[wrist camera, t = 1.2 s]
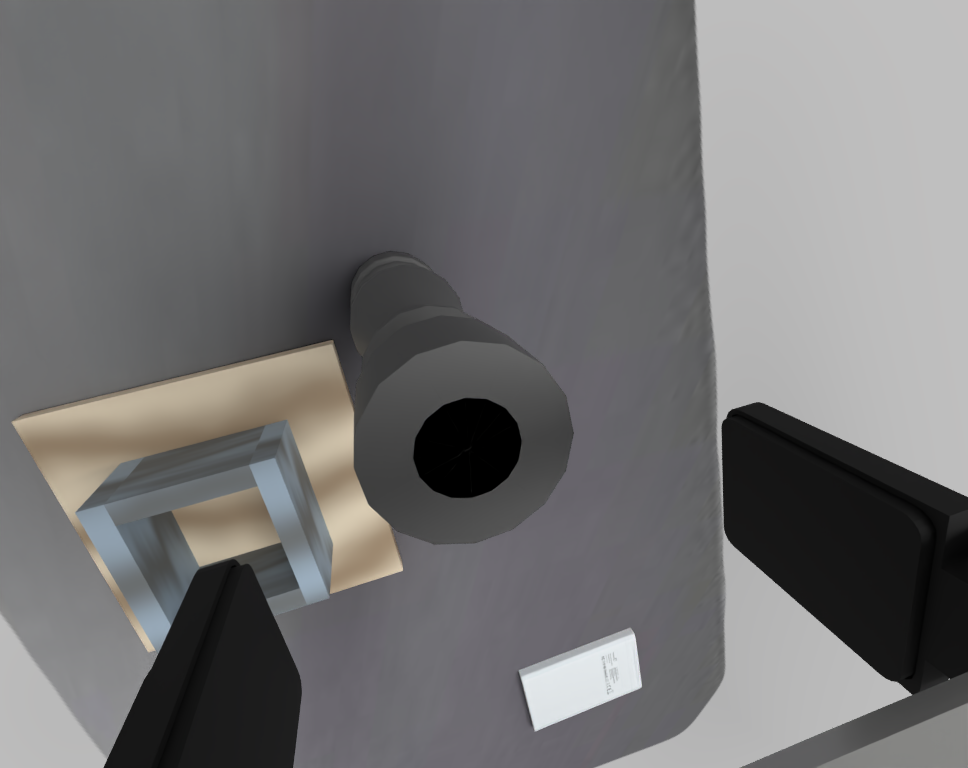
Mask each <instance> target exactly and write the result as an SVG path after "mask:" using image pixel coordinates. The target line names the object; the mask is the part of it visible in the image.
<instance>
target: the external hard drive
mask: <svg viewBox="0 0 968 768" xmlns="http://www.w3.org/2000/svg"><path fill="white" fill-rule="evenodd" d="M519 675H520V679H521V682H522V686H523V690H524V694H525V698H526V702H527V706H528V710H529V714H530V718H531V722H532V725H533V728H534V731H537V730H540V729H542V728H544V727H547V726H549V725H552V724H554V723H557V722H559V721H562V720H564V719H566V718H569V717H571V716H574V715H576V714H579V713H581V712H583V711H586V710H588V709H591V708H593V707H596V706H598V705H600V704H603V703H605V702H608V701H610V700H613V699H615V698H617V697H620V696H622V695H625V694H627V693H629V692H632V691H635V690H637V689H639V688H641V687H642V683H641V676H640V669H639V661H638V653H637V645H636V638H635V634H634V632H633V631H632V629H631V628H628V629H625V630H623V631H620V632H617V633H615V634H612V635H610V636H607V637H604V638H602V639H599V640H596V641H594V642H591V643H589V644H586V645H583V646H581V647H578V648H576V649H573V650H570V651H568V652H565V653H563V654H560V655H557V656H555V657H552V658H549V659H547V660H544V661H542V662H539V663H536V664H534V665H531V666H529V667H526V668H524V669H521V670H519Z"/></svg>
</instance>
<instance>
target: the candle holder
mask: <svg viewBox="0 0 968 768" xmlns="http://www.w3.org/2000/svg"><path fill="white" fill-rule="evenodd" d="M350 309H351V319H350V332H351V335H352V338H353V340H354V343H355V346H356V349H357V351H358V352H359V354H360V355H361V356H362V357H363V358H362V371H361V375H360V377H359V379H358V381H357V383H356V394H355V408H354V470H355V473H356V475H357V478H358V480H359V483H360V485H361V488H362V490H363V493H364V495H365V498H366V500H367V503H368V505H369V506H370V507H371V508H372V509H373V510H375V511H376V512H377V513H378V514H379V515H380V516H381V517H382V518H383V519H384V520H385V521H387V522H388V523H389V524H390V525H391V526H392V527H393V528H394V529H395V530H396V531H398V532H400V533H403V534H406V535H409V536H412V537H415V538H418V539H420V540H423V541H426V542H429V543H432V544H471V543H477V542H480V541H483V540H486V539H488V538H491V537H494V536H496V535H499V534H502V533H504V532H507V531H510V530H512V529H514V528H515V527H517V526H518V525H519V524H520V523H522V522H523V521H524V520H525V519H527V518H528V517H529V516H530V515H532V514H533V513H534V512H535V511H537V510H538V509H539V508H540V507H542V506H543V505H544V504H545V503H546V501H547V500H548V498H549V496H550V495H551V493H552V492H553V490H554V489H555V487H556V485H557V484H558V482H559V481H560V479H561V478H562V476H563V474H564V473H565V471H566V468H567V463H568V458H569V453H570V448H571V444H572V439H573V434H574V432H573V427H572V422H571V417H570V412H569V407H568V402H567V397H566V395H565V394H564V392H563V391H562V390H561V388H560V387H559V385H558V384H557V383H556V381H555V380H554V379H553V377H552V376H551V375H550V373H549V372H548V371H547V369H546V368H545V366H544V365H543V364H542V363H541V362H539V361H538V360H537V359H536V358H534V357H533V356H532V355H531V354H530V353H528V352H527V351H526V350H525V349H523V348H522V347H521V346H520V345H518V344H517V343H516V342H515V341H514V340H512V339H511V338H510V337H509V336H507V335H505V334H504V333H502V332H500V331H498V330H496V329H495V328H493V327H491V326H489V325H487V324H486V323H484V322H482V321H480V320H478V319H475V318H473V317H471V316H470V315H468V314H466V313H464V312H463V310H462V306H461V302H460V298H459V297H458V295H457V294H456V293H455V291H454V290H453V289H452V287H451V286H450V285H449V284H448V282H447V281H446V280H445V279H444V278H442V277H440V276H439V275H437V274H435V273H434V272H433V271H432V270H431V268H430V267H429V266H428V265H426V264H425V263H423V262H422V261H420V260H418V259H417V258H415V257H413V256H411V255H410V254H408V253H401V252H393V251H389V252H386V253H382V254H378V255H375V256H373V257H371V258H370V259H369V260H368V261H366V262H365V263H364V264H363V265H362V266H360V267H359V269H358V271H357V273H356V275H355V277H354V279H353V281H352V285H351V301H350Z"/></svg>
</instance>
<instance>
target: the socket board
mask: <svg viewBox="0 0 968 768" xmlns="http://www.w3.org/2000/svg"><path fill="white" fill-rule="evenodd" d="M12 424H13V425H14V427H15V429H16V430H17V432H18V434H19V435H20V437H21V439H22V440H23V442H24V444H25V445H26V447H27V449H28V450H29V452H30V454H31V456H32V457H33V459H34V461H35V462H36V464H37V466H38V467H39V469H40V471H41V472H42V474H43V476H44V477H45V479H46V481H47V482H48V484H49V486H50V488H51V489H52V491H53V493H54V494H55V496H56V498H57V499H58V501H59V503H60V504H61V506H62V508H63V509H64V511H65V513H66V514H67V516H68V518H69V519H70V521H71V523H72V525H73V526H74V528H75V530H76V531H77V533H78V535H79V536H80V538H81V540H82V541H83V543H84V545H85V546H86V548H87V550H88V551H89V553H90V555H91V556H92V558H93V560H94V562H95V563H96V565H97V567H98V568H99V570H100V572H101V573H102V575H103V577H104V578H105V580H106V582H107V583H108V585H109V587H110V588H111V590H112V592H113V593H114V595H115V597H116V599H117V600H118V602H119V604H120V605H121V607H122V609H123V610H124V612H125V614H126V615H127V617H128V619H129V620H130V622H131V624H132V625H133V627H134V629H135V631H136V632H137V634H138V636H139V637H140V639H141V641H142V642H143V644H144V646H145V647H146V649H147V651H148V652H151V651H154V650H156V652H157V654H158V653H159V651H160V649H161V647H162V645H163V642H164V640H165V638H166V636H167V634H168V632H169V629H170V627H171V625H172V623H173V621H174V618H175V616H176V614H177V612H178V610H179V608H180V605H181V603H182V601H183V599H184V597H185V594H186V592H187V590H188V588H189V586H190V584H191V581H192V579H193V577H194V575H195V573H196V572H197V570H199V569H201V568H204V567H207V566H211V565H214V564H217V563H221V562H224V561H227V560H231V559H235V560H237V561H238V562H239V564H240V565H243V564H249V565H250V566H251V567H252V569H253V571H254V573H255V575H256V578H257V580H258V582H259V584H260V587H261V589H262V591H263V593H264V596H265V598H266V600H267V602H268V605H269V607H270V609H271V611H272V614H273V616H275V615H279V614H282V613H285V612H288V611H291V610H294V609H297V608H300V607H303V606H306V605H310V604H313V603H316V602H319V601H322V600H325V599H328V598H330V594H332V593H335V592H338V591H341V590H344V589H347V588H350V587H353V586H356V585H360V584H363V583H366V582H369V581H372V580H375V579H378V578H381V577H384V576H388V575H391V574H394V573H397V572H400V571H403V565H402V560H401V556H400V553H399V550H398V547H397V544H396V540H395V537H394V534H393V531H392V528H391V525H390V524H389V523H388V522H387V521H385V520H384V519H383V518H382V517H381V516H380V515H379V514H378V513H377V512H376V511H375V510H373V509H372V508H371V507H370V506H369V505H368V503H367V500H366V498H365V495H364V493H363V490H362V488H361V485H360V483H359V480H358V478H357V475H356V473H355V470H354V405H353V402H352V399H351V396H350V393H349V389H348V386H347V383H346V380H345V376H344V373H343V370H342V367H341V364H340V360H339V357H338V354H337V351H336V348H335V344H334V341H333V340H330V341H326V342H322V343H317V344H313V345H309V346H305V347H301V348H297V349H293V350H288V351H284V352H280V353H276V354H272V355H268V356H264V357H259V358H255V359H251V360H247V361H243V362H239V363H235V364H231V365H226V366H222V367H218V368H214V369H210V370H206V371H202V372H197V373H193V374H189V375H185V376H181V377H177V378H173V379H168V380H164V381H160V382H156V383H152V384H148V385H144V386H140V387H135V388H131V389H127V390H123V391H119V392H115V393H111V394H106V395H102V396H98V397H94V398H90V399H86V400H82V401H77V402H73V403H69V404H65V405H61V406H57V407H53V408H48V409H44V410H40V411H36V412H32V413H28V414H24V415H22V416H20V417H18V418H17V419H15V420H14V421H12Z"/></svg>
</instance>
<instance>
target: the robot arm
mask: <svg viewBox="0 0 968 768" xmlns="http://www.w3.org/2000/svg"><path fill="white" fill-rule="evenodd" d="M722 465H723V509H724V530H725V533H726V536H727V538H728V540H729V541H730V542H731V544H732V545H733V546H734V547H735V548H736V549H738V550H739V551H740V552H741V553H742V554H743V555H744V556H746V557H747V558H748V559H749V560H750V561H751V562H752V563H754V564H755V565H756V566H757V567H758V568H759V569H761V570H762V571H763V572H764V573H765V574H766V575H767V576H768V577H770V578H771V579H772V580H773V581H774V582H775V583H776V584H778V585H779V586H780V587H781V588H782V589H783V590H784V591H786V592H787V593H788V594H789V595H790V596H791V597H792V598H794V599H795V600H796V601H797V602H798V603H799V604H800V605H802V606H803V607H804V608H805V609H806V610H807V611H808V612H810V613H811V614H812V615H813V616H814V617H815V618H816V619H818V620H819V621H820V622H821V623H822V624H823V625H824V626H826V627H827V628H828V629H829V630H830V631H831V632H832V633H834V634H835V635H836V636H837V637H838V638H839V639H840V640H842V641H843V642H844V643H845V644H846V645H847V646H848V647H850V648H851V649H852V650H853V651H854V652H855V653H856V654H858V655H859V656H860V657H861V658H862V659H863V660H864V661H866V662H867V663H868V664H869V665H870V666H871V667H873V669H875V670H876V671H877V672H878V673H879V674H881V675H882V676H883V677H885V678H886V679H888V680H890V681H895V682H898V683H900V684H901V685H902V686H903V687H904V688H905V689H906V690H908V691H909V692H910V693H911V694H912V696H909V697H907V698H905V699H902V700H900V701H897V702H895V703H893V704H890V705H888V706H885V707H883V708H881V709H878V710H876V711H873V712H871V713H869V714H866V715H864V716H862V717H859V718H857V719H854V720H852V721H850V722H847V723H845V724H842V725H840V726H838V727H835V728H833V729H830V730H828V731H826V732H823V733H821V734H818V735H816V736H814V737H811V738H809V739H807V740H804V741H802V742H800V743H797V744H795V745H793V746H790V747H788V748H786V749H783V750H781V751H778V752H776V753H774V754H771V755H769V756H767V757H764V758H762V759H760V760H757V761H755V762H753V763H750V764H748V765H746V766H743V767H741V768H968V497H966V496H964V495H962V494H960V493H957V492H955V491H953V490H951V489H949V488H947V487H944V486H942V485H940V484H938V483H936V482H933V481H931V480H929V479H927V478H925V477H922V476H920V475H918V474H916V473H914V472H912V471H909V470H907V469H905V468H903V467H901V466H899V465H896V464H894V463H892V462H890V461H888V460H886V459H883V458H881V457H879V456H877V455H875V454H872V453H870V452H868V451H866V450H864V449H862V448H859V447H857V446H855V445H853V444H851V443H849V442H846V441H844V440H842V439H840V438H838V437H835V436H833V435H831V434H829V433H827V432H825V431H822V430H820V429H818V428H816V427H814V426H811V425H809V424H807V423H805V422H803V421H800V420H798V419H796V418H794V417H792V416H790V415H787V414H785V413H783V412H781V411H779V410H777V409H774V408H772V407H770V406H768V405H765V404H763V403H760V402H757V403H752V404H749V405H746V406H742V407H739V408H736V409H732V410H731V411H730V412H729V413H728V415H727V419H725V420H724V421H723V423H722ZM949 678H950V680H948V679H949ZM301 695H302V688H301V680H300V675H299V672H298V670H297V668H296V665H295V663H294V661H293V659H292V656H291V654H290V652H289V650H288V647H287V645H286V643H285V641H284V638H283V636H282V634H281V632H280V629H279V627H278V625H277V623H276V620H275V618H274V616H273V614H272V611H271V609H270V607H269V605H268V602H267V600H266V598H265V596H264V593H263V591H262V589H261V587H260V584H259V582H258V580H257V578H256V575H255V573H254V571H253V569H252V567H251V566H250V565H249V564H243V565H240V564H239V562H238V561H237V560H235V559H231V560H227V561H224V562H221V563H217V564H214V565H211V566H207V567H204V568H201V569H199V570H197V572H196V573H195V575H194V577H193V579H192V581H191V584H190V586H189V588H188V590H187V592H186V594H185V597H184V599H183V601H182V603H181V605H180V608H179V610H178V612H177V614H176V616H175V618H174V621H173V623H172V625H171V627H170V629H169V632H168V634H167V636H166V638H165V640H164V642H163V645H162V647H161V649H160V651H159V653H158V656H157V658H156V660H155V662H154V664H153V667H152V669H151V670H150V671H149V673H148V675H147V676H146V678H145V679H144V681H143V684H142V686H141V688H140V690H139V692H138V694H137V697H136V699H135V701H134V703H133V705H132V707H131V710H130V712H129V714H128V716H127V718H126V720H125V722H124V725H123V727H122V729H121V731H120V733H119V735H118V738H117V740H116V742H115V744H114V746H113V748H112V751H111V753H110V755H109V757H108V759H107V761H106V764H105V766H104V768H293V763H294V755H295V747H296V738H297V730H298V721H299V713H300V704H301Z"/></svg>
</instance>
